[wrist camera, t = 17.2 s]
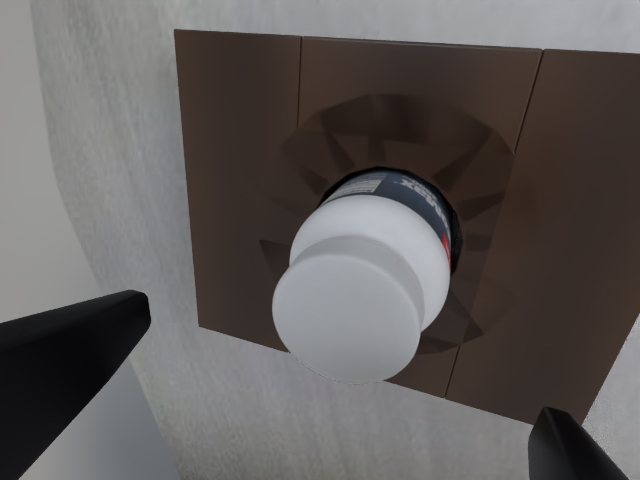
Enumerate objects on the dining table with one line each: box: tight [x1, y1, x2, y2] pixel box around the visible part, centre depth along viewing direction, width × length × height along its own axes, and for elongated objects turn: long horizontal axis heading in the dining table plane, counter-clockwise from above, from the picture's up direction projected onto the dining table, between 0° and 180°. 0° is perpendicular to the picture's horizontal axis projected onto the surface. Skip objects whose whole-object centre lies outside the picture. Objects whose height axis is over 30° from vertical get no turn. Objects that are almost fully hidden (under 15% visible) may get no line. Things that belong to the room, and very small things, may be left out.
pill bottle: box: [272, 166, 451, 384], centre depth 14 cm, size 5×5×9 cm
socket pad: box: [174, 29, 640, 425], centre depth 16 cm, size 18×14×3 cm
